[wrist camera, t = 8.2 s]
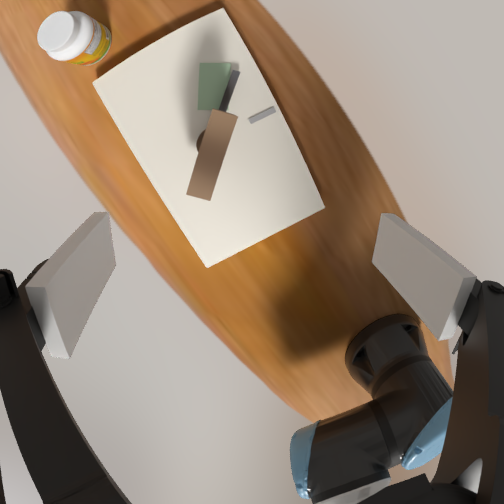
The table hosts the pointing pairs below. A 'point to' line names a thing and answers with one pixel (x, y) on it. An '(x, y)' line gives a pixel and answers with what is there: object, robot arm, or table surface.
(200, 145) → the brown handled block
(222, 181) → the dial board
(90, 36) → the supplement bottle
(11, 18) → the table surface
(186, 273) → the table surface
